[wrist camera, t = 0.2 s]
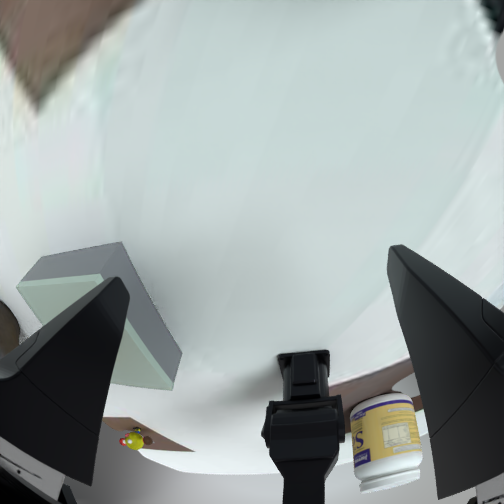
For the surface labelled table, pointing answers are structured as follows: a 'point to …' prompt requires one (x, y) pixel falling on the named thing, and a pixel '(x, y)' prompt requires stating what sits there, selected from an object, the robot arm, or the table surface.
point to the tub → (140, 306)
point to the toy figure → (135, 440)
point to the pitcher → (8, 331)
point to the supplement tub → (385, 442)
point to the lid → (131, 348)
